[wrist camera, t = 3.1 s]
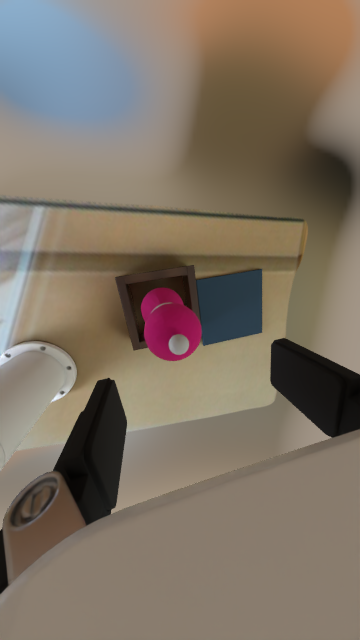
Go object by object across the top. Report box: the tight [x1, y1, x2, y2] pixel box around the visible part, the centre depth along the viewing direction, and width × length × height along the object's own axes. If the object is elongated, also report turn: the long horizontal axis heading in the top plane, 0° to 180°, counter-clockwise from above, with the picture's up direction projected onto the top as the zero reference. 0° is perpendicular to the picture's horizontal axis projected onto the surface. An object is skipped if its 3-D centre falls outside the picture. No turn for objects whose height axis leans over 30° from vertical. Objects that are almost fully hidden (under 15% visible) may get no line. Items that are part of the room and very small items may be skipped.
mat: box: [196, 269, 262, 346], centre depth 35 cm, size 14×14×1 cm
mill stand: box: [115, 265, 202, 350], centre depth 31 cm, size 13×13×4 cm
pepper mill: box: [141, 288, 202, 361], centre depth 23 cm, size 7×7×20 cm
